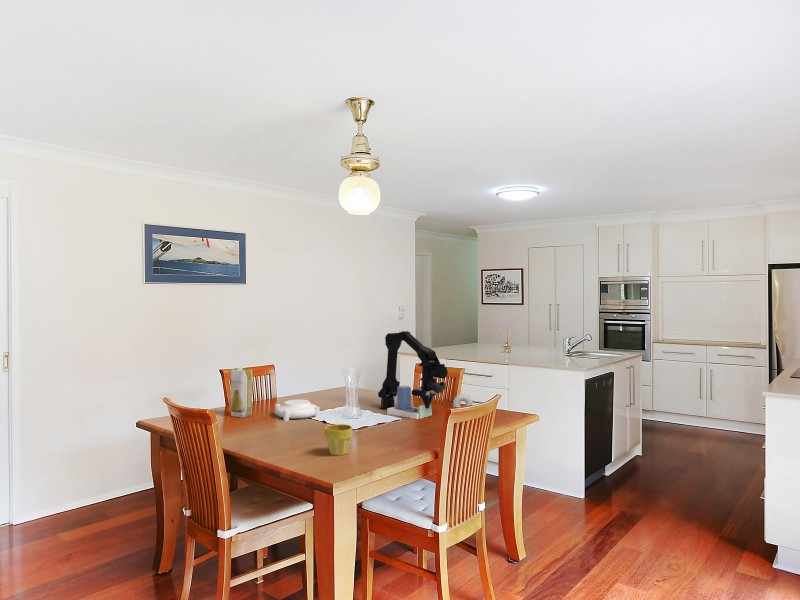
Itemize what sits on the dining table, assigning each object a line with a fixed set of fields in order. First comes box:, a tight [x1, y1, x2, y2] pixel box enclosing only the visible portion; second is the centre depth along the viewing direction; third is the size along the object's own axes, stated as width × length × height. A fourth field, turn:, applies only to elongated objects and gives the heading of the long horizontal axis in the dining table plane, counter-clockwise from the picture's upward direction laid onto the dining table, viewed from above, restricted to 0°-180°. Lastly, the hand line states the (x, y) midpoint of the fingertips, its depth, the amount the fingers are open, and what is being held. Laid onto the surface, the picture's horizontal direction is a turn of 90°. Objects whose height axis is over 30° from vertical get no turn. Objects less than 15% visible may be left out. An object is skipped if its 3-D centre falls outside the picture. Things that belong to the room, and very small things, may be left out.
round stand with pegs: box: [274, 399, 321, 422], centre depth 274 cm, size 24×24×7 cm
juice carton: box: [230, 366, 253, 418], centre depth 273 cm, size 9×8×24 cm
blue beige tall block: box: [396, 385, 412, 411], centre depth 281 cm, size 5×5×12 cm
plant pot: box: [324, 423, 353, 456], centre depth 211 cm, size 10×10×10 cm
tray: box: [394, 403, 432, 420], centre depth 278 cm, size 18×9×6 cm, turn 50°
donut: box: [452, 393, 473, 409], centre depth 281 cm, size 10×4×10 cm, turn 94°
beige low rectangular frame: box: [386, 405, 433, 420], centre depth 279 cm, size 19×12×2 cm, turn 50°
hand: (427, 408), depth 272 cm, fingers closed
